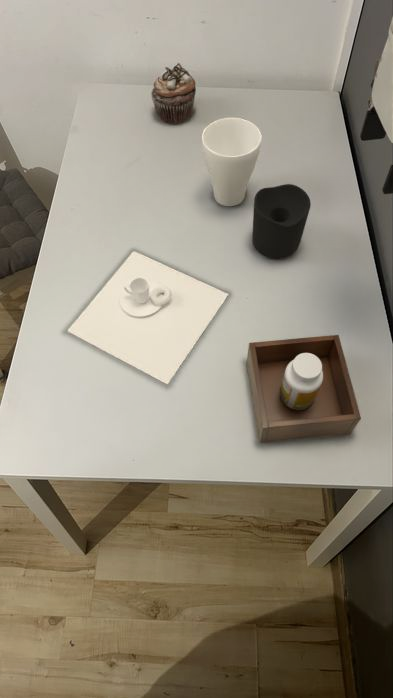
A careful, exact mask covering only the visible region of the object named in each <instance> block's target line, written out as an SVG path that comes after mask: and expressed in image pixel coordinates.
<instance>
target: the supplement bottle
mask: <svg viewBox="0 0 393 698" xmlns="http://www.w3.org/2000/svg"><path fill="white" fill-rule="evenodd" d="M322 381H323V372H322V363H321V361H320V359H319V358H318V357H317V356H315V355H313V354H311V353H302V354H299V355H298V356H296V357H295V359H294V360H292V361H291V362H290V363H289V364H288V365H287V367H286V370H285V373H284V377H283V380H282V384H281V387H280V397H281V399H282V401H283V403H284V404H285V405H286V406H288V407H289V408H292V409H295V410H302V409H306V408H308V407H309V406H310V405H311V404H312V403H313V402H314V400H315V397H316V395H317V393H318V391H319V388H320V386H321V384H322Z"/></svg>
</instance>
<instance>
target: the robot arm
mask: <svg viewBox="0 0 393 698" xmlns="http://www.w3.org/2000/svg"><path fill="white" fill-rule="evenodd" d="M370 87H371V97H370V98H368V101H367V109H368V110H366V112H365V117H364V121H363V124H362V127H361V131H360V134H359V137H360V140H361V141H363V142H366V141H373V140H384V139H385V138H386V136H387V137H388V140H389V141H390V143H391V144H393V16H392V18H391V21H390V24H389V28H388V37H387V39H386V42H385V44H384V48H383V50H382V53H381V57H380V58H376V60H375V63H374V74H373V79H372V80H371V83H370ZM381 191H382V193H383V195H391V194H393V164H390V167H389V169H388V173H387V175H386V178H385V181H384V183H383V186H382V190H381Z"/></svg>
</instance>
